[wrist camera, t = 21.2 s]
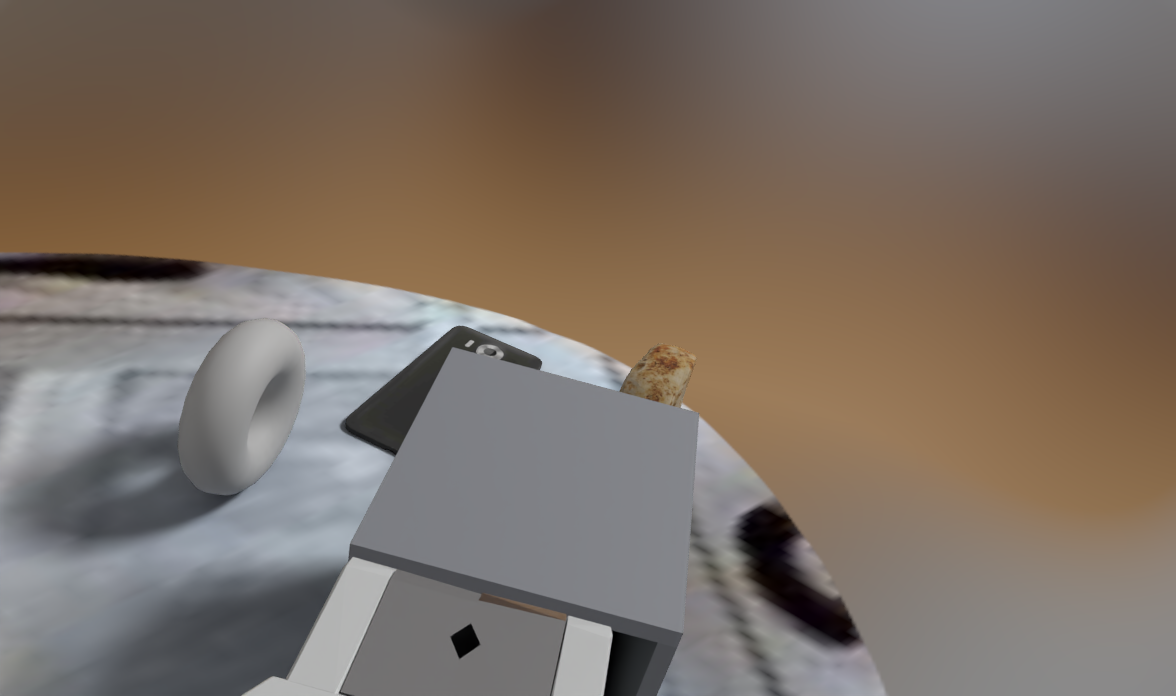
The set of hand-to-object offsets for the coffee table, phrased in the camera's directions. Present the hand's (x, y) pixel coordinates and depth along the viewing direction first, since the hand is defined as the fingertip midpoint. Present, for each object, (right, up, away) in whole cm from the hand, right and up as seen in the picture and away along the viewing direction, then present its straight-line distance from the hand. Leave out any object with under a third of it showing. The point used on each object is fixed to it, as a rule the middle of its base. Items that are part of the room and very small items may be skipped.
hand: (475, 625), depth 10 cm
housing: (-3, -13, +34) cm, 37 cm away
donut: (-19, -4, +42) cm, 46 cm away
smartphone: (-8, 0, +52) cm, 53 cm away
